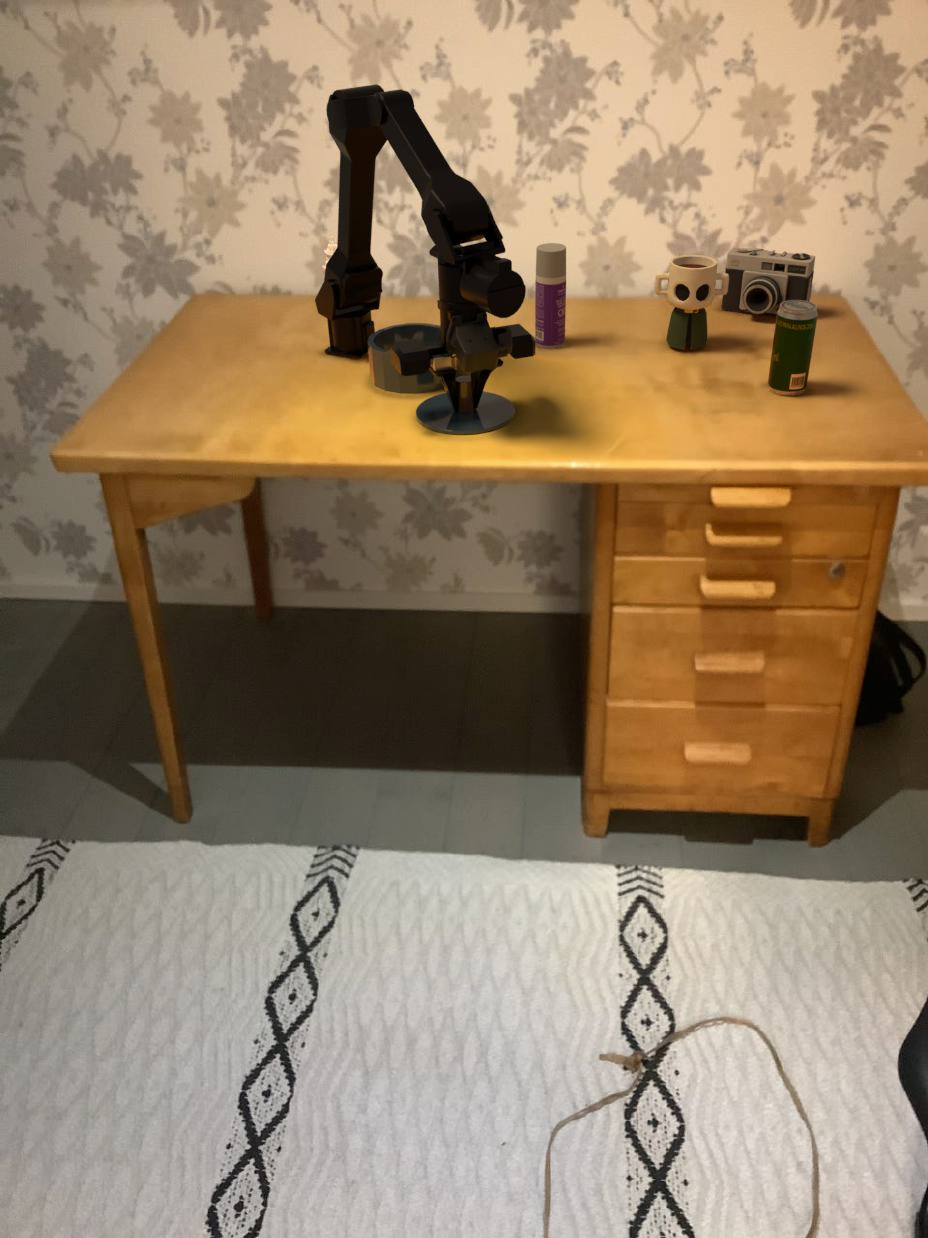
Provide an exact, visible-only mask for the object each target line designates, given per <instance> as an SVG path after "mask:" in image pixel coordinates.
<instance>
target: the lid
mask: <svg viewBox="0 0 928 1238" xmlns="http://www.w3.org/2000/svg"><path fill="white" fill-rule="evenodd" d="M455 380H456V388H457V396H458V412H455V411H454V410H453V408H452V405H451V403H450V400H449V398H448V396H447V393H446V392H443V393H439V394H436V395H433V396H430V397H428V398H426V399H424V400H423V401H422V402H421V403H420V404H418V406H417V407H416V409H415V418H416V420H417V422H418V423H419V424H420V425H421V426H422V427H424V428H426V429H428V430H431V431H433V432H437V433H441V434H447V435H459V436H461V435H464V436H467V435H478V434H485V433H488V432H491V431H496V430H498V429H501V428H502V427H504V426H506V425H507V424H509V423H510V422H511V421H512V420H513V419H514V417H515V413H516V410H515V406H514V404H513V402H512V401H510V399H508V398H506V397H504V396H503V395H500V394H497V393H494V392H489V391H484V390H483V393H482V396H481V399H480V401H479V404H478V407H477V408H476V409H474V395H473V378H472V377H470V375H460V376H456V379H455Z"/></svg>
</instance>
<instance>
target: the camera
mask: <svg viewBox="0 0 928 1238" xmlns="http://www.w3.org/2000/svg"><path fill="white" fill-rule="evenodd" d="M726 255H727V256H726V262H725V271H724V273H726V274H729V284H728V292H727V294H726V295H722V299H721V311H727V312H734V313H735V312H736V313H743V314H750V315H756V316H766V317H771V318H772V317H774V318H776V317H777V311H778V310H779V308H780V304H781V303H782V302H784V301H789V300H804V301H809V302H811V296H812V290H813V280H814V273H815V261H816V256H815V255H814V254H813V255H811V254H808V253H805V252H801V253H799V252H797V253H796V252H795V253H792V252H787V251H786V250H785V251H783V252H782V253H780V252H776V250H768V249H764V248H757V247H755V248H753V247H747V248H745V247H733V248H731V249H730V250H729V251H728V252H727V254H726Z"/></svg>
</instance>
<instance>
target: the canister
mask: <svg viewBox="0 0 928 1238" xmlns="http://www.w3.org/2000/svg"><path fill="white" fill-rule="evenodd" d="M440 330H441V326H440V325H439V324H432V323H427V322H426V323H425V322H413V323H411V322H410V323H409V322H408V323H407V322H406V323H401V324H394V325H390V326H386V327H383V328H379V329H377V330H375V333H373V334H372V335H370V337H369V339H368V342H367V343H368V353H367V355H368V362H369V363H368V365H369V376H370V381H371V382H372V384H373V386H374V387H376V388H378V389H380V390H382V391H385V392H389V393H394V394H400V395H401V394H405V395H406V394H409V395H411V394H413V395H415V394H421V393H422V394H423V393H428V392H436V391H438V390H441V389H443V388H444V386H443V384H442V382H441V380H440V378H439V376H435V375H433V373H432V372H431V371H430V370H429V369H428V371H427V372H426V373H424V374H418V375H411V376H402V375H401V374H400V373H399V372H398V370H397V369H396V368H395V366H394V365H393V364H392V363H391V356H390V349H391V347H392V345H393V344H394V342H400V341H406V340H413V339H419V340H420V341H421V342H422V343H423V345H424V346H425V347H427V346H433V345H440V344H441V339H440V338H439V331H440ZM451 361H452V366H453V367H454V368H455V369H456V371H457V373H456V377H455V379H456V378H457V374H458V369H457V366H458V365H457V357H454V358H451Z"/></svg>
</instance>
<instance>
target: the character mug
mask: <svg viewBox="0 0 928 1238" xmlns="http://www.w3.org/2000/svg"><path fill="white" fill-rule="evenodd" d="M664 280H666V281H667V286H666V287H667V288H662V281H664ZM720 280H721V288H716V284H717V283H716V282H717V281H720ZM728 284H729V274H726V273H725V272H718V261H717V260H716V259H715V258H713V257H711V256H706V255H700V254H684V255H683V254H682V255H678V256H675V257H672V258H671V259H670V260H669V262H668V272H659V273H656V274H655V277H654V289H653V290H654V294H655V295H657V296H666V300H667V303H668V304H669V305H670V306H672V307H674V308H673V309H672V311H671V313H670V319H669V323H668V327H667V333H666V338H665V341H666V343H667V345H668V346H670V347H672V348H674V349H678V350H679V349H680V350H685V349H686V345H690V350H697V349H701V348H703V347H705V346H707V343H708V316H707V315H708V314H707V311H706V308H707V307H709V306H711V305H712V303H713V302H714V299H715V296H723V295H726V294H727V292H728Z"/></svg>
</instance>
